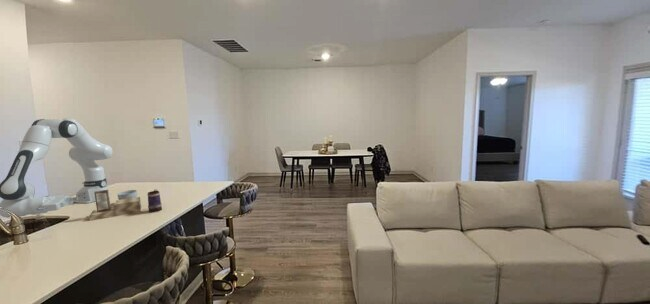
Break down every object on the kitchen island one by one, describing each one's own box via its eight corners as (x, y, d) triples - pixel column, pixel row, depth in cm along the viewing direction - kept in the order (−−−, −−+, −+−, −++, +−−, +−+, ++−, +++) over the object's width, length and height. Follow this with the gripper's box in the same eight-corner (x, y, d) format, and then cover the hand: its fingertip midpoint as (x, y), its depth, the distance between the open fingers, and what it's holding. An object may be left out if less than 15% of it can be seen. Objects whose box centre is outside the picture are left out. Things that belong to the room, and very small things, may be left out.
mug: (160, 211, 173) (157, 192, 171) (147, 213, 171) (144, 193, 170) (165, 206, 183) (163, 188, 181) (152, 207, 181) (150, 189, 180)
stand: (90, 220, 162) (88, 208, 161) (93, 215, 171) (92, 203, 170) (140, 212, 174) (138, 200, 173) (141, 207, 182) (140, 196, 181)
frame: (97, 212, 166) (94, 192, 164) (98, 211, 169) (95, 191, 167) (110, 210, 169) (107, 190, 167) (110, 209, 172) (108, 189, 170)
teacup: (131, 205, 187) (129, 193, 186) (114, 206, 187) (112, 194, 186) (144, 199, 201) (143, 188, 200) (129, 199, 201) (127, 188, 200)
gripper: (33, 204, 146) (69, 199, 152) (47, 195, 163) (78, 191, 170) (35, 216, 146) (70, 210, 153) (49, 206, 164) (80, 201, 171)
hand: (75, 200), depth 162 cm, fingers open, 8 cm apart
